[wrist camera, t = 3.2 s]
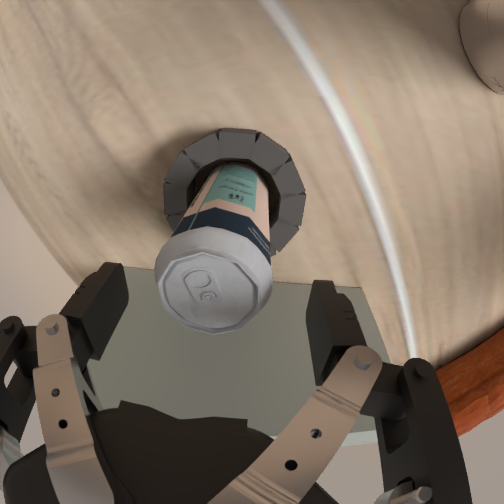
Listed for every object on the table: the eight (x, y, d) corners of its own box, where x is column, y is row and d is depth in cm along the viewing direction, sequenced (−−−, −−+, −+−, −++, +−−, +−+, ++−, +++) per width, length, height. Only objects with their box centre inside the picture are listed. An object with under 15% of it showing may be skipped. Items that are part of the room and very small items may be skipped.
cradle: (174, 126, 18) (163, 131, 16) (308, 136, 18) (314, 141, 16) (176, 242, 23) (167, 258, 21) (290, 252, 23) (292, 269, 21)
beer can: (217, 228, 22) (181, 348, 12) (194, 172, 20) (124, 261, 10) (276, 211, 21) (287, 329, 11) (256, 151, 19) (249, 223, 9)
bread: (409, 378, 34) (428, 438, 24) (538, 292, 25) (571, 335, 16) (419, 409, 40) (432, 455, 31) (526, 341, 32) (547, 379, 23)
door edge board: (124, 266, 24) (52, 390, 12) (361, 288, 25) (410, 423, 13) (129, 287, 26) (67, 408, 14) (354, 307, 26) (392, 438, 14)
